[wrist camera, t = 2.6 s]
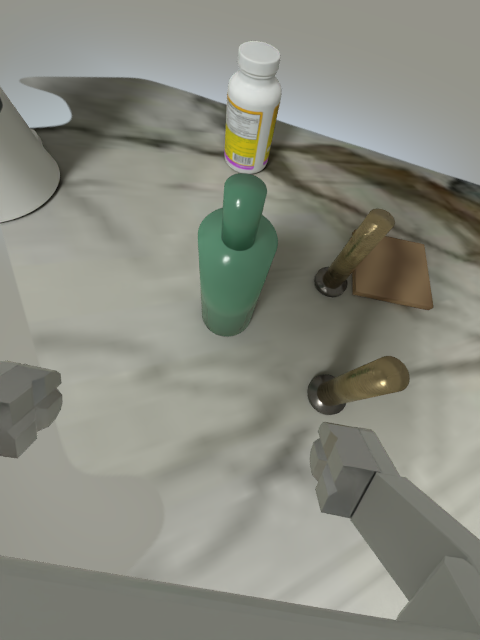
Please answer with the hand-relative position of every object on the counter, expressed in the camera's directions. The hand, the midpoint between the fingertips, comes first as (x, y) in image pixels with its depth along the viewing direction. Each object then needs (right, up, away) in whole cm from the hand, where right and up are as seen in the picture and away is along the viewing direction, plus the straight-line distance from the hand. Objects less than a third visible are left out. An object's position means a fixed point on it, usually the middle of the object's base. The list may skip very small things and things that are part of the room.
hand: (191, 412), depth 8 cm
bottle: (0, +4, +22) cm, 22 cm away
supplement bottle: (+2, +27, +33) cm, 43 cm away
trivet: (+21, +10, +27) cm, 36 cm away
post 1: (+13, +8, +25) cm, 29 cm away
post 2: (+11, -5, +20) cm, 23 cm away
